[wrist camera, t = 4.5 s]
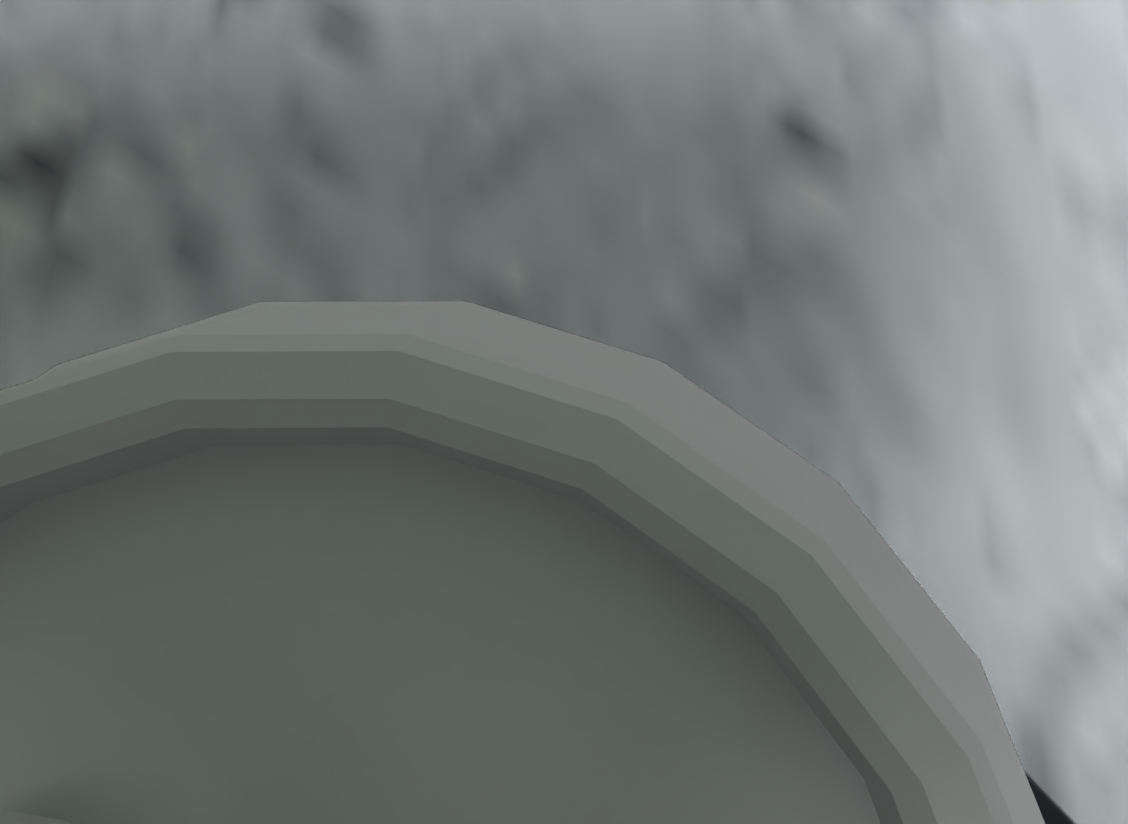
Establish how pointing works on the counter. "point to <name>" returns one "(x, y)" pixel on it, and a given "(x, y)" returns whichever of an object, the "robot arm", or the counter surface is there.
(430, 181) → the counter surface
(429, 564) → the can
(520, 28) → the counter surface
